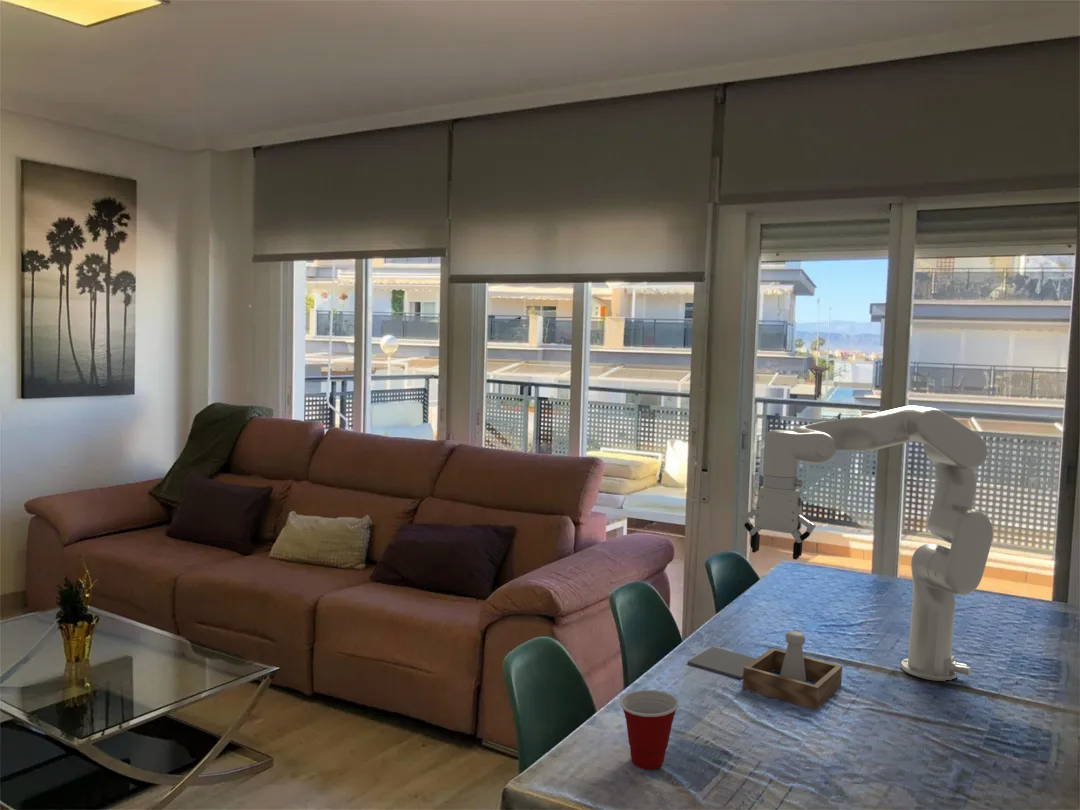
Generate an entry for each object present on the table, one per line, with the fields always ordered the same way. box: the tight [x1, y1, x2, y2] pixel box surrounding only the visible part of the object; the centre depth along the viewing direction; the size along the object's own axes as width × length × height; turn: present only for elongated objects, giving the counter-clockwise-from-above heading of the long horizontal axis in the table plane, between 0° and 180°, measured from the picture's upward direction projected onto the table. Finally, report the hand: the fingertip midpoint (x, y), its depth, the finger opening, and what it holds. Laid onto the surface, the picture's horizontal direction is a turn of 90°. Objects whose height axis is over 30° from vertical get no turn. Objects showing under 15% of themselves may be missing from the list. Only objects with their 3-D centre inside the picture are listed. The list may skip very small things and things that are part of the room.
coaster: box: [687, 646, 758, 680], centre depth 210 cm, size 14×14×1 cm
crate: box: [741, 647, 843, 711], centre depth 197 cm, size 17×17×5 cm
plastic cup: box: [619, 689, 679, 771], centre depth 158 cm, size 11×11×12 cm
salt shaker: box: [779, 630, 807, 683], centre depth 196 cm, size 6×6×13 cm
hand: (775, 554), depth 201 cm, fingers open, 9 cm apart
